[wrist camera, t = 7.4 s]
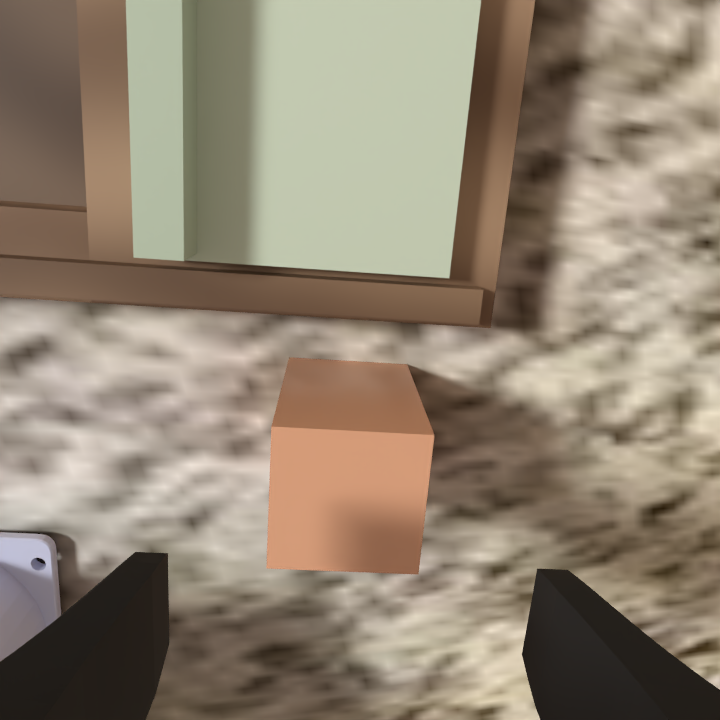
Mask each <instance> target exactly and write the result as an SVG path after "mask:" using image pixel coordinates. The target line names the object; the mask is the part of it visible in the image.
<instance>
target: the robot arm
mask: <svg viewBox="0 0 720 720" xmlns="http://www.w3.org/2000/svg"><path fill="white" fill-rule="evenodd" d="M36 558H41V559H43V560H44V561H45V563H46V564H42V563H40V562H38V561H37V559H36ZM168 645H169V600H168V553H145V552H135V553H134V554H133V555H131V556H130V557H129V558H128V559H127V560H125V561H124V562H123V563H122V564H121V565H119V566H118V567H117V568H116V569H115V570H114V571H113V572H111V573H110V574H109V575H108V576H107V577H106V578H105V579H103V580H102V581H101V582H100V583H99V584H98V585H97V586H95V587H94V588H93V589H92V590H91V591H90V592H88V593H87V594H86V595H85V596H84V597H83V598H81V599H80V600H79V601H78V602H77V603H75V604H74V605H73V606H72V607H71V608H69V609H68V610H67V611H66V612H65V613H63V614H62V615H61V604H60V591H59V578H58V565H57V551H56V545H55V542H54V541H53V539H52V538H50V537H49V536H47V535H43V534H29V533H6V532H0V720H146V717H147V715H148V712H149V710H150V707H151V704H152V702H153V699H154V697H155V694H156V690H157V686H158V683H159V679H160V676H161V672H162V668H163V664H164V661H165V657H166V653H167V649H168ZM522 656H523V660H524V664H525V668H526V673H527V677H528V681H529V685H530V688H531V692H532V696H533V699H534V703H535V706H536V709H537V712H538V714H539V717H540V720H720V690H719V689H718V688H716V687H715V686H714V685H712V684H711V683H709V682H708V681H706V680H705V679H704V678H702V677H701V676H700V675H698V674H697V673H696V672H694V671H693V670H691V669H690V668H689V667H687V666H686V665H685V664H683V663H682V662H681V661H679V660H678V659H677V658H675V657H674V656H673V655H671V654H670V653H669V652H668V651H666V650H665V649H664V648H662V647H661V646H660V645H659V644H657V643H656V642H655V641H654V640H652V639H651V638H650V637H649V636H647V635H646V634H645V633H644V632H642V631H641V630H640V629H639V628H638V627H636V626H635V625H634V624H633V623H631V622H630V621H629V620H628V619H627V618H625V617H624V616H623V615H622V614H621V613H620V612H618V611H617V610H616V609H615V608H614V607H612V606H611V605H610V604H609V603H608V602H606V601H605V600H604V599H603V598H602V597H601V596H599V595H598V594H597V593H596V592H595V591H593V590H592V589H591V588H590V587H589V586H587V585H586V584H585V583H584V582H583V581H581V580H580V579H579V578H578V577H576V576H575V575H574V574H572V573H571V572H570V571H568V570H555V569H537V574H536V579H535V585H534V591H533V596H532V602H531V607H530V613H529V618H528V624H527V630H526V635H525V641H524V646H523V652H522Z"/></svg>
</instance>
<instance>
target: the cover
mask: <svg viewBox="0 0 720 720" xmlns="http://www.w3.org/2000/svg"><path fill="white" fill-rule="evenodd" d="M480 6H481V0H126V25H127V58H128V91H129V124H130V157H131V191H132V224H133V257H134V258H147V259H161V260H176V261H185V260H187V261H202V262H217V263H231V264H246V265H261V266H275V267H290V268H305V269H319V270H334V271H349V272H364V273H378V274H393V275H408V276H422V277H437V278H449V276H450V267H451V259H452V250H453V241H454V232H455V224H456V215H457V206H458V198H459V189H460V180H461V171H462V163H463V154H464V145H465V137H466V128H467V119H468V110H469V102H470V93H471V84H472V76H473V67H474V58H475V49H476V41H477V32H478V23H479V15H480Z"/></svg>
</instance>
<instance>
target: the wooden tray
mask: <svg viewBox="0 0 720 720" xmlns="http://www.w3.org/2000/svg"><path fill="white" fill-rule="evenodd" d="M534 5H535V0H481V6H480V15H479V23H478V32H477V41H476V49H475V58H474V67H473V76H472V84H471V93H470V102H469V110H468V119H467V128H466V137H465V145H464V154H463V163H462V171H461V180H460V189H459V198H458V206H457V215H456V224H455V232H454V241H453V250H452V259H451V267H450V276H449V278H437V277H422V276H408V275H393V274H378V273H364V272H349V271H334V270H319V269H305V268H290V267H275V266H261V265H246V264H231V263H217V262H202V261H187V260H185V261H176V260H161V259H147V258H134V257H133V224H132V191H131V157H130V124H129V91H128V58H127V25H126V0H0V297H12V298H28V299H43V300H59V301H75V302H90V303H106V304H122V305H138V306H153V307H169V308H185V309H200V310H216V311H232V312H248V313H263V314H279V315H295V316H310V317H326V318H342V319H358V320H373V321H389V322H405V323H421V324H436V325H452V326H468V327H483V328H490V327H491V320H492V312H493V305H494V298H495V290H496V283H497V276H498V268H499V261H500V254H501V247H502V239H503V232H504V225H505V217H506V210H507V203H508V195H509V188H510V181H511V173H512V166H513V159H514V152H515V144H516V137H517V130H518V122H519V115H520V108H521V100H522V93H523V86H524V78H525V71H526V64H527V57H528V49H529V42H530V35H531V27H532V20H533V13H534Z"/></svg>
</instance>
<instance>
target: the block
mask: <svg viewBox="0 0 720 720" xmlns="http://www.w3.org/2000/svg"><path fill="white" fill-rule="evenodd" d="M433 443H434V433H433V430H432V428H431V425H430V422H429V420H428V417H427V414H426V412H425V409H424V407H423V404H422V401H421V399H420V396H419V394H418V391H417V388H416V386H415V383H414V381H413V378H412V375H411V373H410V370H409V368H408V365H407V364H391V363H374V362H357V361H341V360H324V359H307V358H290V357H289V360H288V364H287V368H286V372H285V376H284V380H283V384H282V388H281V392H280V396H279V400H278V403H277V407H276V411H275V415H274V419H273V423H272V430H271V458H270V486H269V515H268V543H267V568H271V569H296V570H322V571H347V572H373V573H398V574H418V572H419V564H420V555H421V547H422V538H423V529H424V521H425V512H426V503H427V495H428V486H429V478H430V469H431V460H432V452H433Z"/></svg>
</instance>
